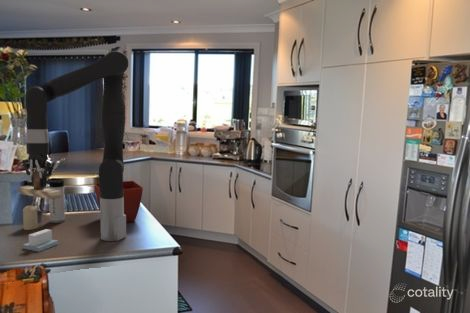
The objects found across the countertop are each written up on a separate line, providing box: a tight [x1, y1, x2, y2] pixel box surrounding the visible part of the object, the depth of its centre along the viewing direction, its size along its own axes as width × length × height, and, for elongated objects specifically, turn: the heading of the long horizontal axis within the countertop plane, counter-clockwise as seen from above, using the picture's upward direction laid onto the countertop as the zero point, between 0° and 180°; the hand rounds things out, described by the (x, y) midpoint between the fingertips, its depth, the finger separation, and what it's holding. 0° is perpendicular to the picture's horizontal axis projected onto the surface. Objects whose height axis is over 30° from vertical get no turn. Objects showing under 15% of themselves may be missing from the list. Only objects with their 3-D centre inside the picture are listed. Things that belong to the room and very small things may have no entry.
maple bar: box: [17, 171, 61, 200], centre depth 148 cm, size 18×4×9 cm, turn 64°
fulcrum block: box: [22, 228, 59, 253], centre depth 151 cm, size 8×9×6 cm
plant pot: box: [93, 180, 144, 223], centre depth 189 cm, size 19×19×17 cm
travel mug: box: [48, 177, 66, 224], centre depth 183 cm, size 6×7×20 cm
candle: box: [22, 204, 39, 231], centre depth 173 cm, size 6×6×10 cm
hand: (38, 186), depth 149 cm, fingers closed on maple bar, 3 cm apart
